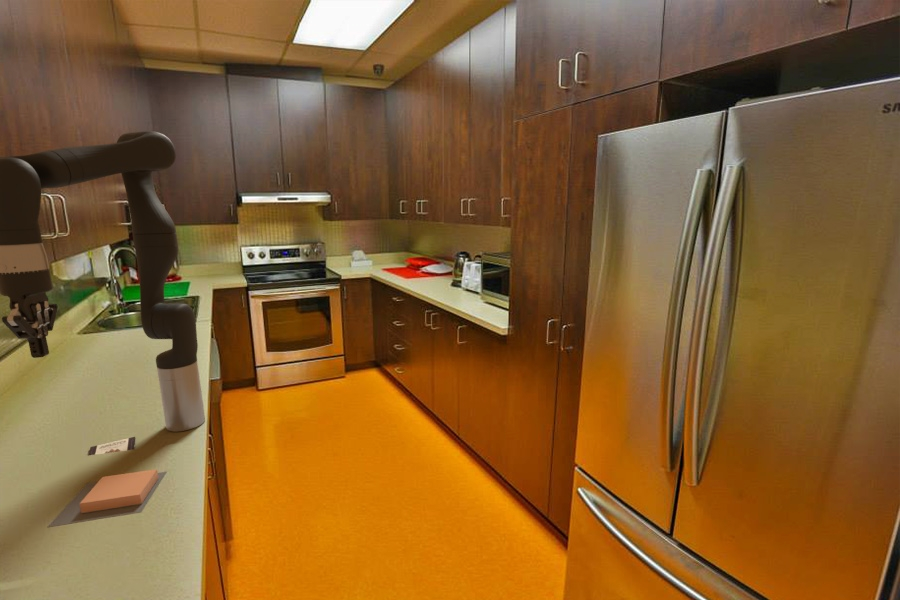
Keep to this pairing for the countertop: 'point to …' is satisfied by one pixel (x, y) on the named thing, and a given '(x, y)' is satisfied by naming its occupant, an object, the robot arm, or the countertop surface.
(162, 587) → the countertop surface
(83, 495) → the mat
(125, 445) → the chocolate bar
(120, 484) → the tile
